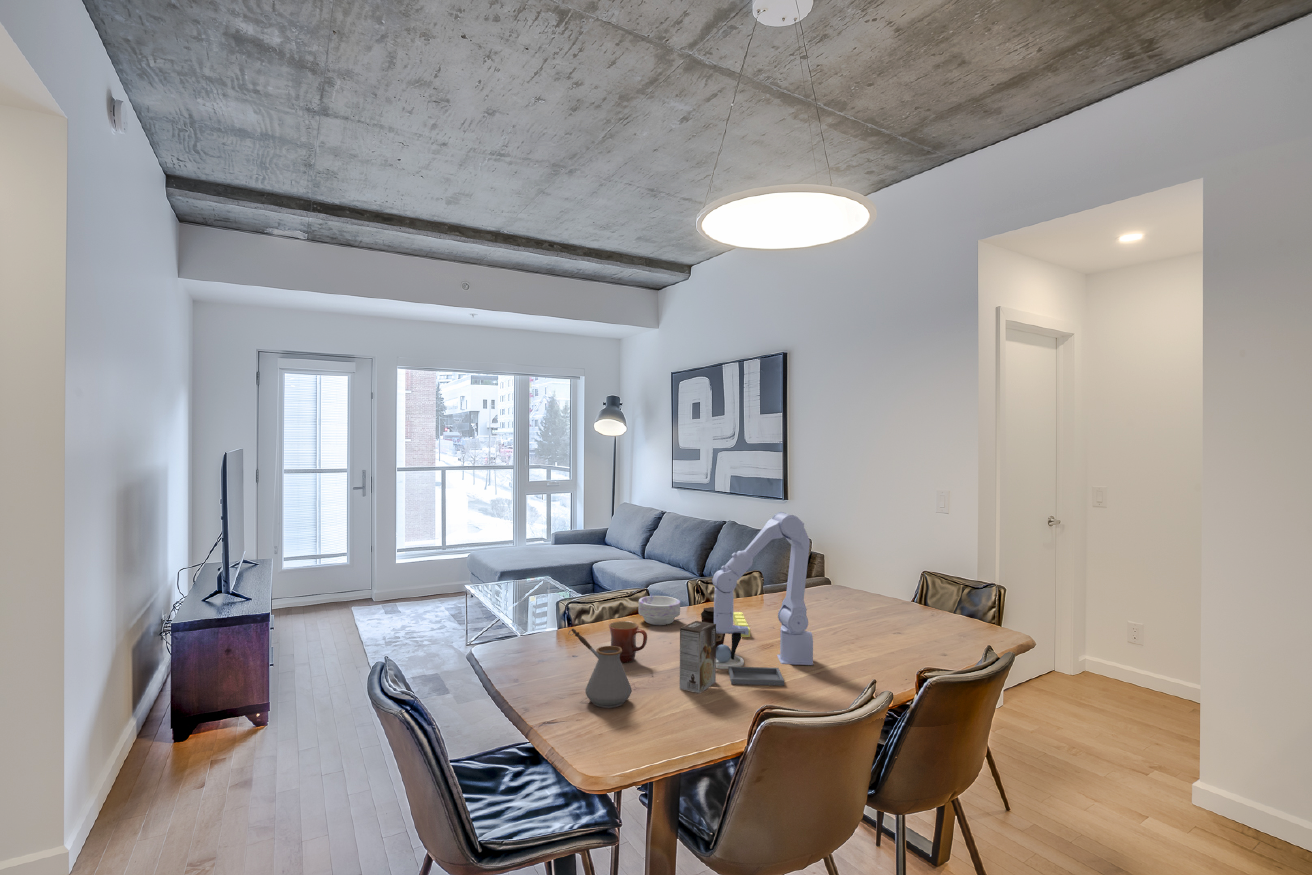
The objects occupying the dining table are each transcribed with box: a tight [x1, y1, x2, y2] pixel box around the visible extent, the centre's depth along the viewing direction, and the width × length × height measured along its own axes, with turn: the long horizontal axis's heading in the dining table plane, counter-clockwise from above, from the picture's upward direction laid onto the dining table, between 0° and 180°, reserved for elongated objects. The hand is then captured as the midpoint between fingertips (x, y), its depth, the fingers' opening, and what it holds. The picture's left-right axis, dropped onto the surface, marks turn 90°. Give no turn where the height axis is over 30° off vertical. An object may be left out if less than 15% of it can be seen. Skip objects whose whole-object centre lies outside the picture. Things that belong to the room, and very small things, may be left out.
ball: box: [716, 644, 732, 662], centre depth 191 cm, size 5×5×5 cm
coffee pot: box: [568, 628, 633, 709], centre depth 165 cm, size 21×12×15 cm, turn 45°
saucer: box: [716, 654, 745, 670], centre depth 191 cm, size 12×12×1 cm
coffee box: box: [679, 620, 717, 694], centre depth 173 cm, size 9×6×16 cm
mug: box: [608, 620, 648, 664], centre depth 192 cm, size 12×9×10 cm
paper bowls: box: [638, 595, 681, 626], centre depth 236 cm, size 15×15×8 cm
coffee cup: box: [700, 606, 726, 647], centre depth 203 cm, size 9×8×13 cm
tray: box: [727, 666, 785, 687], centre depth 178 cm, size 14×10×2 cm
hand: (722, 658), depth 191 cm, fingers closed on ball, 5 cm apart
